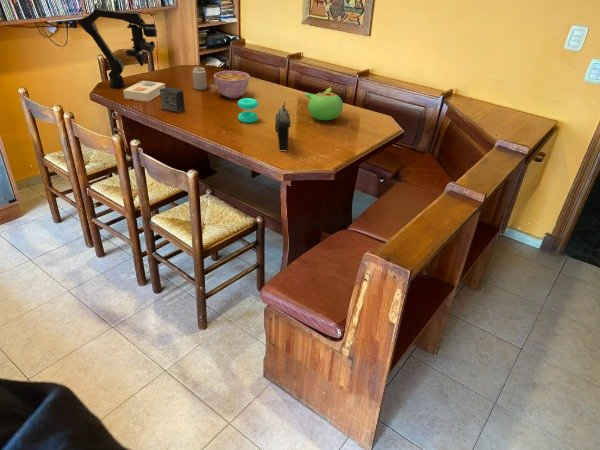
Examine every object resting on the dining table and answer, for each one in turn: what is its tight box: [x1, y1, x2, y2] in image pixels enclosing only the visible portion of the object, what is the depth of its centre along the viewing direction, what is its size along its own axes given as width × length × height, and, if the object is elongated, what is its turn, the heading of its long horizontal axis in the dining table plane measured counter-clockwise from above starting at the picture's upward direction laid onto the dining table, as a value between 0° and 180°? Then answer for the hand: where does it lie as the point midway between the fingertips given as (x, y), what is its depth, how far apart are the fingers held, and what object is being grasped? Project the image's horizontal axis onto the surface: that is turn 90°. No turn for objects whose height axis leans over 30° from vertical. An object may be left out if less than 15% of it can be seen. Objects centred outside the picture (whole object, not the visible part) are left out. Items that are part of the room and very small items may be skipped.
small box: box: [159, 86, 186, 114], centre depth 230 cm, size 11×6×10 cm, turn 65°
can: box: [192, 66, 208, 91], centre depth 261 cm, size 8×8×12 cm
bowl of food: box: [213, 70, 251, 99], centre depth 253 cm, size 20×20×12 cm
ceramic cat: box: [274, 101, 292, 151], centre depth 197 cm, size 20×6×20 cm, turn 5°
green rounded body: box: [303, 86, 344, 121], centre depth 229 cm, size 18×17×15 cm
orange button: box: [134, 87, 146, 91], centre depth 244 cm, size 5×5×4 cm
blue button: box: [143, 82, 155, 86], centre depth 252 cm, size 5×5×4 cm
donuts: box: [237, 97, 259, 124], centre depth 223 cm, size 10×10×10 cm
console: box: [122, 80, 166, 102], centre depth 249 cm, size 14×20×4 cm
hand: (141, 65), depth 255 cm, fingers closed
